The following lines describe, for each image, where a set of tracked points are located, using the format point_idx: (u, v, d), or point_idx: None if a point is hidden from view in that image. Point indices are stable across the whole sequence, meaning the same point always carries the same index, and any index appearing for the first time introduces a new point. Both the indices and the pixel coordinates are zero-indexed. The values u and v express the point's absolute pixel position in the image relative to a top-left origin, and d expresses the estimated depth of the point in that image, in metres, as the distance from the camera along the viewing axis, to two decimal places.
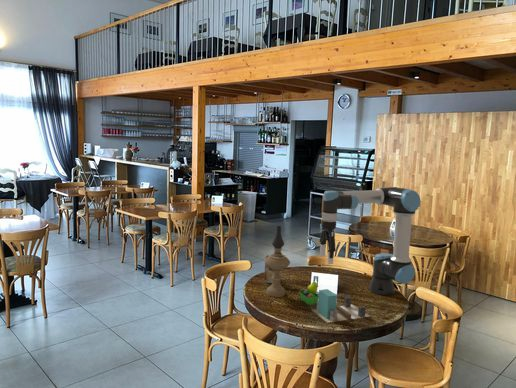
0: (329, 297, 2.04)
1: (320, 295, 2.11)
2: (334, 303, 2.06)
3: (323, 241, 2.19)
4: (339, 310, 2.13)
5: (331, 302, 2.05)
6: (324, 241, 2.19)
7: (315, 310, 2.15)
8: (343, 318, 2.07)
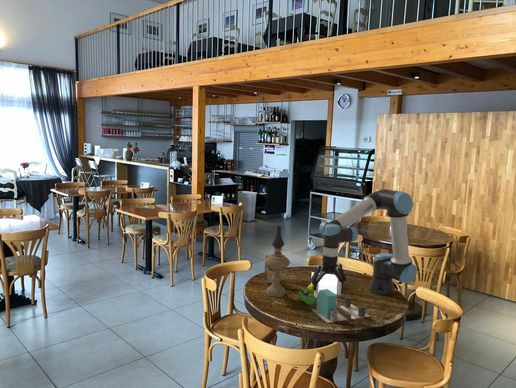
0: (329, 297, 2.04)
1: (320, 295, 2.11)
2: (334, 303, 2.06)
3: None
4: (339, 310, 2.13)
5: (331, 302, 2.05)
6: (338, 278, 2.10)
7: (315, 310, 2.15)
8: (343, 318, 2.07)
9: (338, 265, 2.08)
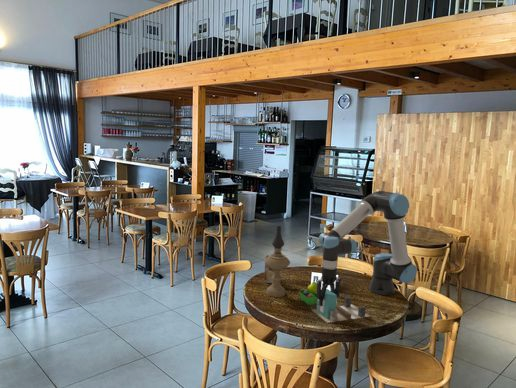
0: (329, 297, 2.04)
1: None
2: (334, 303, 2.06)
3: None
4: (339, 310, 2.13)
5: (331, 302, 2.05)
6: None
7: (315, 310, 2.15)
8: (343, 318, 2.07)
9: (337, 279, 2.09)
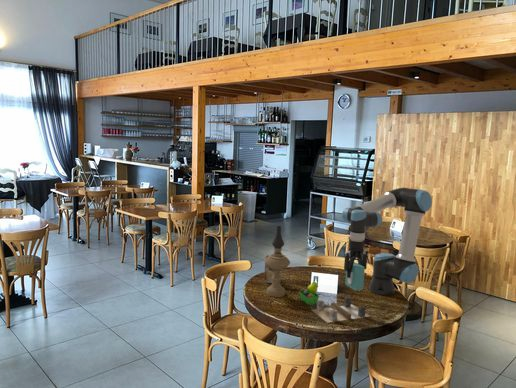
0: (357, 269, 2.08)
1: None
2: (362, 275, 2.10)
3: None
4: (339, 310, 2.13)
5: (359, 273, 2.09)
6: None
7: (315, 310, 2.15)
8: (343, 318, 2.07)
9: (364, 251, 2.13)
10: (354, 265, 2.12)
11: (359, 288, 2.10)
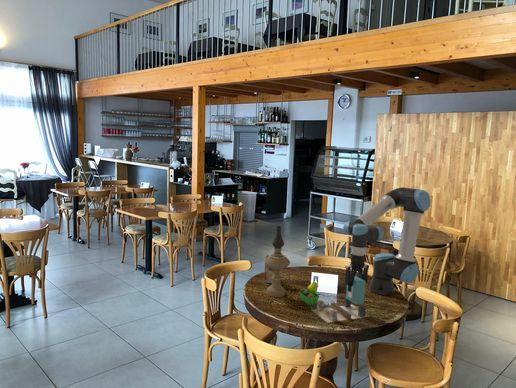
0: (358, 283, 2.10)
1: None
2: (363, 289, 2.11)
3: None
4: (339, 310, 2.13)
5: (360, 287, 2.10)
6: None
7: (315, 310, 2.15)
8: (343, 318, 2.07)
9: (365, 265, 2.15)
10: (355, 279, 2.13)
11: (360, 302, 2.12)
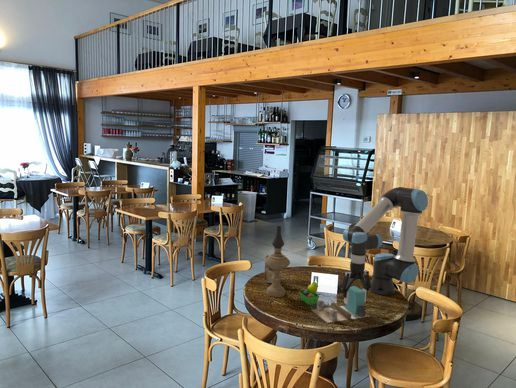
0: (357, 294, 2.10)
1: None
2: (362, 299, 2.12)
3: (363, 285, 2.17)
4: (339, 310, 2.13)
5: (359, 298, 2.11)
6: (363, 285, 2.16)
7: (315, 310, 2.15)
8: (343, 318, 2.07)
9: (365, 272, 2.15)
10: (354, 290, 2.14)
11: None
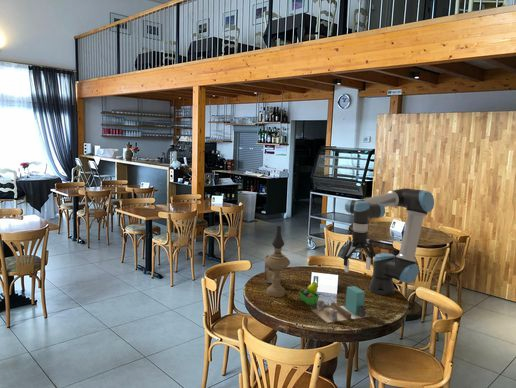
0: (357, 294, 2.10)
1: (348, 292, 2.17)
2: (362, 299, 2.12)
3: (367, 253, 2.15)
4: (339, 310, 2.13)
5: (359, 298, 2.11)
6: (367, 253, 2.15)
7: (315, 310, 2.15)
8: (343, 318, 2.07)
9: (367, 241, 2.14)
10: (354, 290, 2.14)
11: None
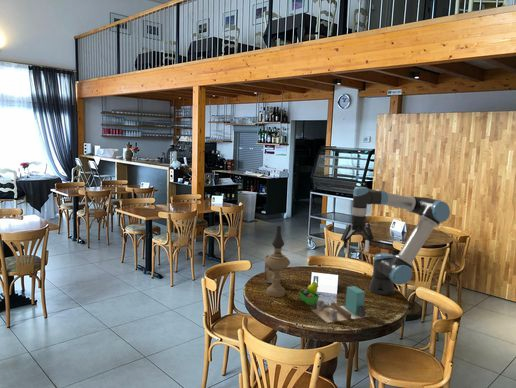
0: (357, 294, 2.10)
1: (348, 292, 2.17)
2: (362, 299, 2.12)
3: (365, 236, 2.28)
4: (339, 310, 2.13)
5: (359, 298, 2.11)
6: (366, 237, 2.28)
7: (315, 310, 2.15)
8: (343, 318, 2.07)
9: (366, 224, 2.26)
10: (354, 290, 2.14)
11: None
